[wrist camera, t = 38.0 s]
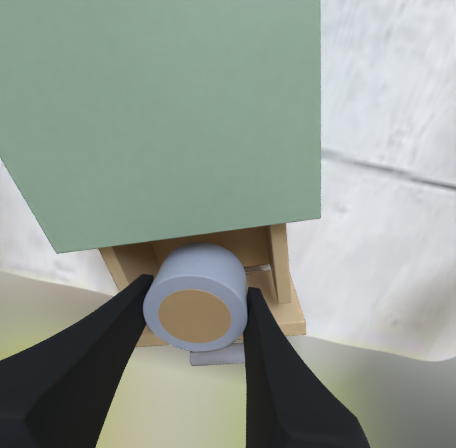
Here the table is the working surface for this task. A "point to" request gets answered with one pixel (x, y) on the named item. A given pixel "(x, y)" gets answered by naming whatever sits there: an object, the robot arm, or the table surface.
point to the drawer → (248, 256)
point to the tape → (198, 298)
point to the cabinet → (161, 116)
